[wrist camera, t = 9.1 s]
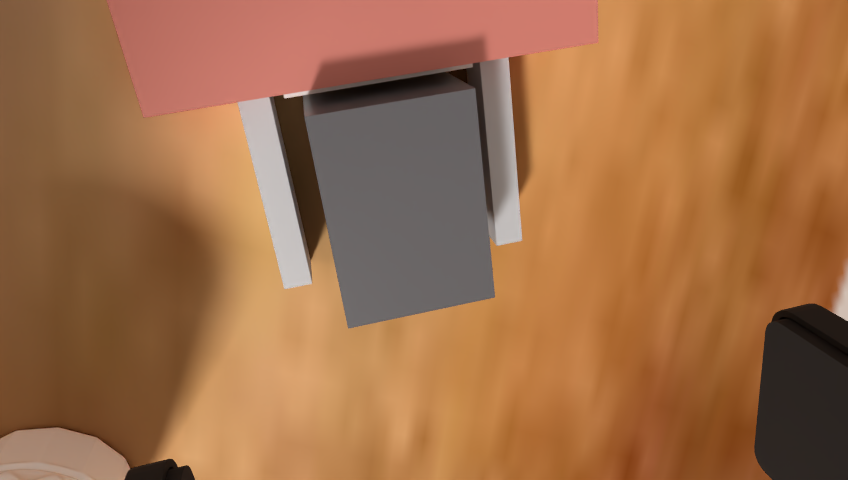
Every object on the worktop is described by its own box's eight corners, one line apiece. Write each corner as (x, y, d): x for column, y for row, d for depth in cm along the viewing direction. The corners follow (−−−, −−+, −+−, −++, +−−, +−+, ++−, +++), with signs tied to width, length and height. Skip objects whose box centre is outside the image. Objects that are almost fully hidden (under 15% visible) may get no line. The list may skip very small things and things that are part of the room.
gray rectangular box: (459, 241, 25) (494, 297, 21) (338, 265, 25) (348, 328, 20) (438, 67, 23) (475, 88, 18) (302, 90, 22) (304, 116, 17)
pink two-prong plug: (563, 210, 26) (644, 278, 20) (220, 279, 24) (195, 375, 18) (540, -308, 19) (654, -443, 13) (58, -265, 17) (-68, -400, 11)
